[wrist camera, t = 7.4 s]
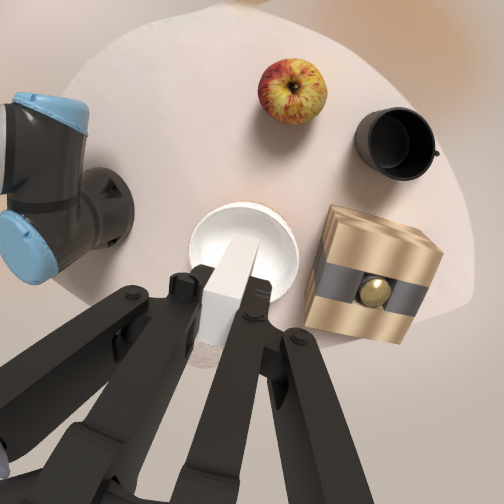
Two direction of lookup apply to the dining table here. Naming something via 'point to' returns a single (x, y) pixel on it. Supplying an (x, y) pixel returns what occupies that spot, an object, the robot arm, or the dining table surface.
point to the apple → (292, 91)
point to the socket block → (373, 261)
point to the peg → (374, 290)
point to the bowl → (255, 225)
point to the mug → (396, 143)
